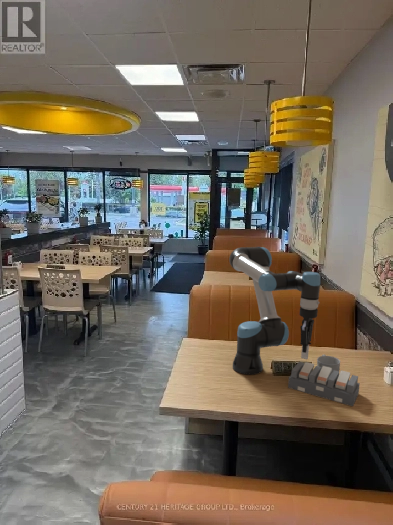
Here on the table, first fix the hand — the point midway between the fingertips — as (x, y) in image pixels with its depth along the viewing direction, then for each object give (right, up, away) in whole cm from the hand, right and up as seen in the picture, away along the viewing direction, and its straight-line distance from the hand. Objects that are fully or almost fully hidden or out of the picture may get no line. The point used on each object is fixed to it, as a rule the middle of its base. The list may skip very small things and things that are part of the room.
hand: (304, 358), depth 171 cm
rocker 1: (+2, -7, +4) cm, 8 cm away
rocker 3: (+16, -8, -4) cm, 18 cm away
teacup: (+17, -13, +19) cm, 29 cm away
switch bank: (+9, -15, +1) cm, 17 cm away
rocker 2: (+9, -8, 0) cm, 12 cm away
